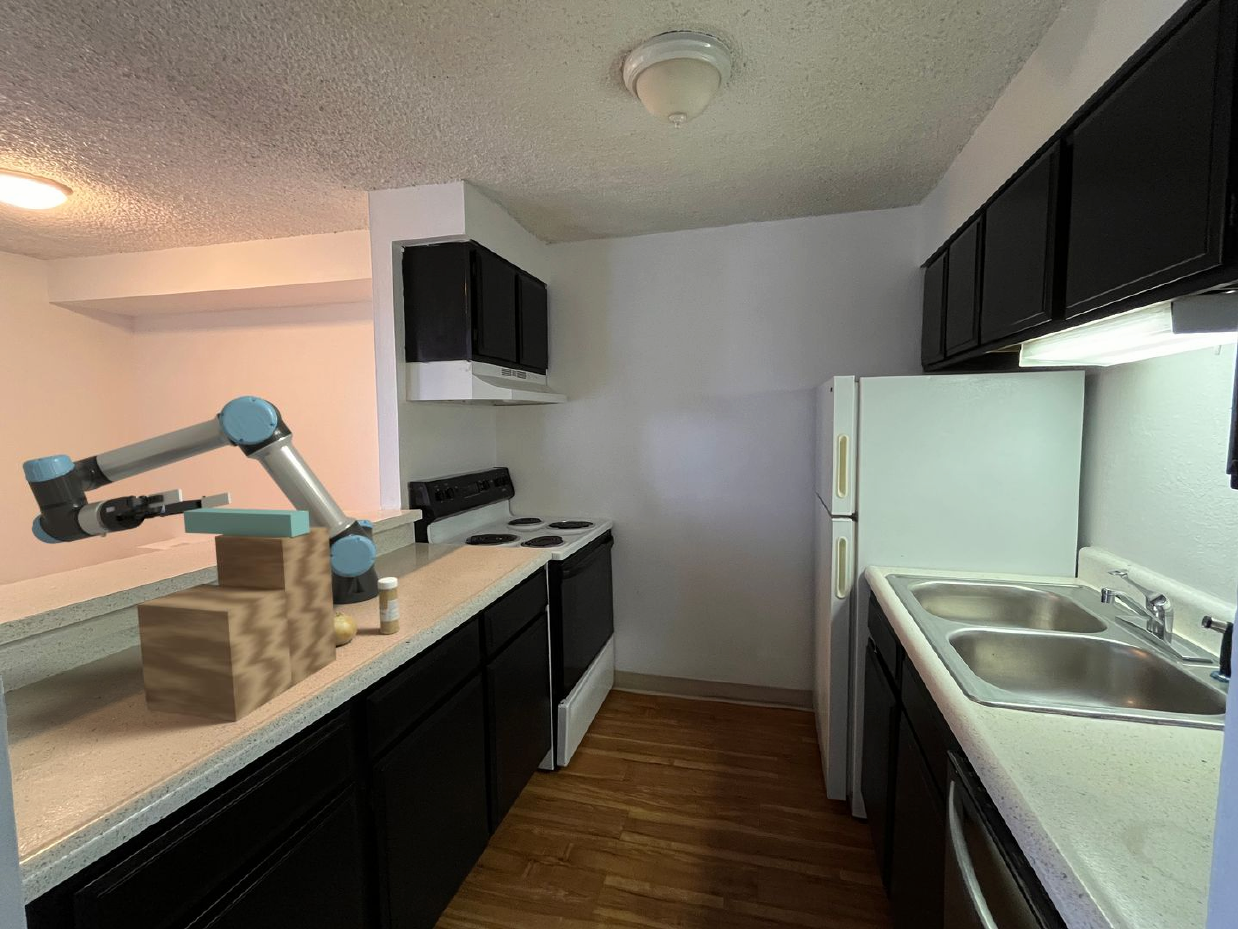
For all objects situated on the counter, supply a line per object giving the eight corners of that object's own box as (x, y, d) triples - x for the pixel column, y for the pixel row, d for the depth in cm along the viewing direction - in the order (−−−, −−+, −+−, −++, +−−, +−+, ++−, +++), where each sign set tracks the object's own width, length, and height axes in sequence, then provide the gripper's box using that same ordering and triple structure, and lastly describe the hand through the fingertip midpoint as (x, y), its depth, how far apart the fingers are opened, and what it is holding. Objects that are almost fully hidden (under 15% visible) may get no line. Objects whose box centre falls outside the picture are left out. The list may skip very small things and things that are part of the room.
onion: (364, 640, 125) (362, 612, 124) (330, 653, 118) (328, 623, 118) (346, 633, 129) (345, 605, 129) (313, 644, 123) (311, 615, 122)
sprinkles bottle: (376, 631, 130) (374, 579, 128) (394, 626, 133) (392, 575, 132) (385, 636, 127) (382, 583, 126) (403, 630, 130) (400, 578, 129)
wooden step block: (261, 652, 119) (251, 523, 116) (336, 659, 115) (328, 526, 112) (146, 709, 95) (131, 550, 93) (236, 721, 91) (223, 555, 89)
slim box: (206, 528, 112) (204, 507, 111) (309, 532, 107) (308, 510, 106) (185, 532, 107) (183, 511, 107) (291, 537, 102) (290, 514, 102)
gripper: (165, 530, 129) (248, 513, 129) (54, 533, 104) (158, 512, 104) (162, 501, 130) (245, 484, 130) (51, 496, 105) (154, 475, 105)
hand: (206, 496), depth 117 cm, fingers open, 13 cm apart
